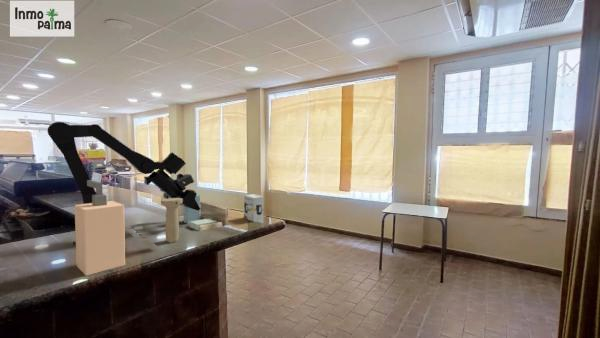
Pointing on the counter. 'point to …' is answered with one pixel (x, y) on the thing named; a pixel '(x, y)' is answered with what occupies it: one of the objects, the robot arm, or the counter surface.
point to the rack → (211, 215)
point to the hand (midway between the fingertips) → (193, 207)
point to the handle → (172, 218)
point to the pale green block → (201, 223)
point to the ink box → (253, 208)
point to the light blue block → (192, 212)
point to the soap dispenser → (99, 233)
